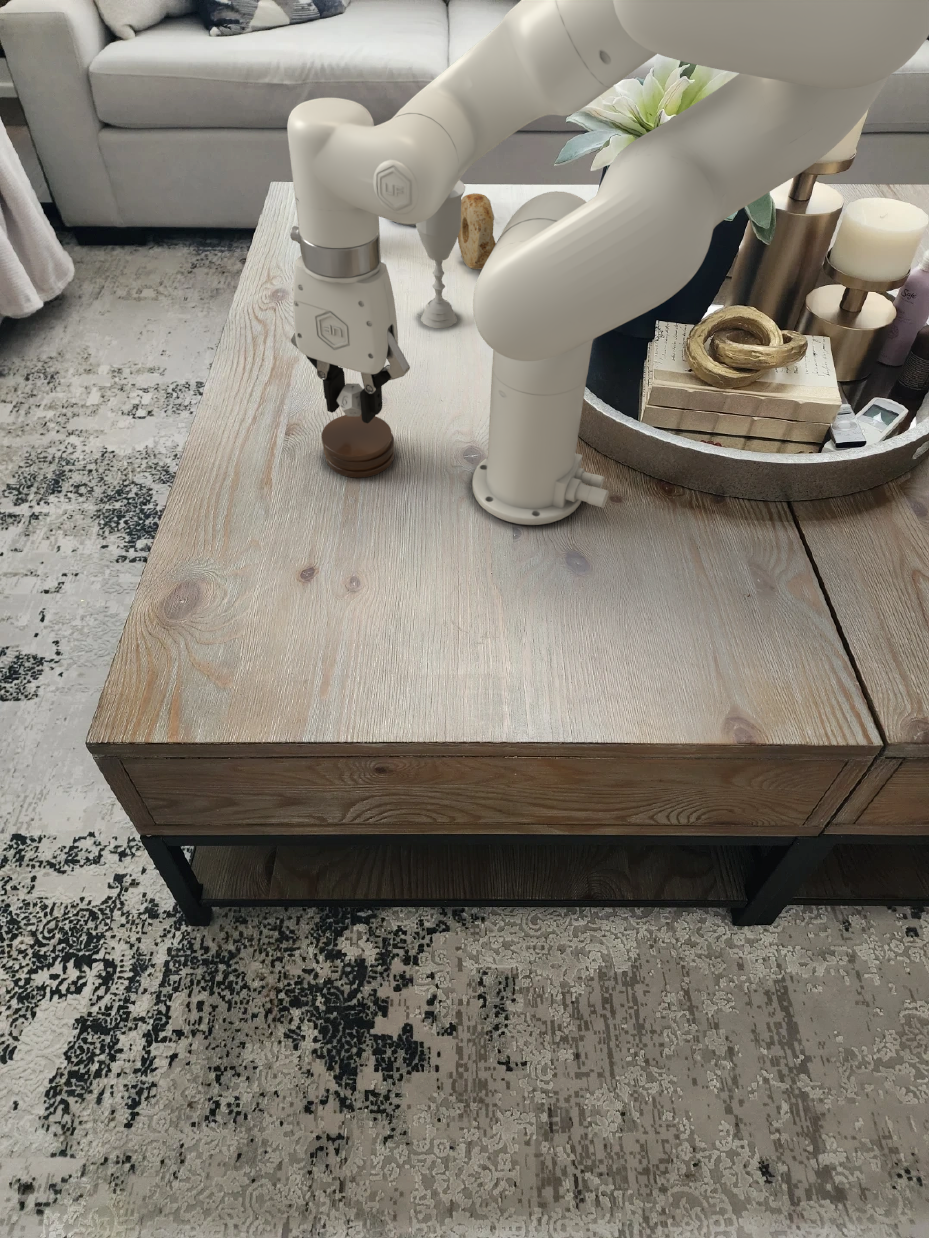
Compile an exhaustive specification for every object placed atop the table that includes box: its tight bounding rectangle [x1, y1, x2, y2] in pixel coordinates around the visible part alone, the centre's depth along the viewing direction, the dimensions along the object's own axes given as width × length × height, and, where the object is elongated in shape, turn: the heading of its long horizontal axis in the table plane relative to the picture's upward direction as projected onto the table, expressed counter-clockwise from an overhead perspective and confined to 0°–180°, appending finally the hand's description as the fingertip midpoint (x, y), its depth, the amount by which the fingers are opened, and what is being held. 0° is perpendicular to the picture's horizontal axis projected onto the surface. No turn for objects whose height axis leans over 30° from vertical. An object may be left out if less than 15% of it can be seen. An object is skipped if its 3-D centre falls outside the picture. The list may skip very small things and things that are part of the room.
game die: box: [337, 382, 364, 416], centre depth 94 cm, size 4×4×3 cm
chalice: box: [415, 179, 466, 329], centre depth 113 cm, size 7×7×18 cm
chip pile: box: [321, 414, 395, 479], centre depth 98 cm, size 8×8×3 cm
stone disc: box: [457, 192, 497, 270], centre depth 127 cm, size 10×4×10 cm, turn 18°
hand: (354, 409), depth 95 cm, fingers closed on game die, 3 cm apart
